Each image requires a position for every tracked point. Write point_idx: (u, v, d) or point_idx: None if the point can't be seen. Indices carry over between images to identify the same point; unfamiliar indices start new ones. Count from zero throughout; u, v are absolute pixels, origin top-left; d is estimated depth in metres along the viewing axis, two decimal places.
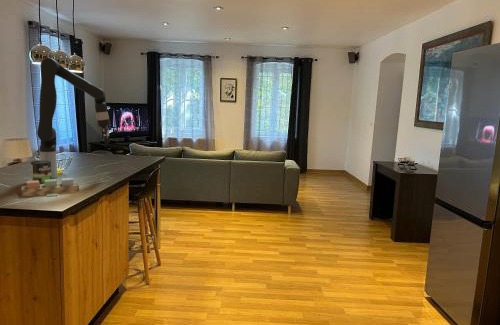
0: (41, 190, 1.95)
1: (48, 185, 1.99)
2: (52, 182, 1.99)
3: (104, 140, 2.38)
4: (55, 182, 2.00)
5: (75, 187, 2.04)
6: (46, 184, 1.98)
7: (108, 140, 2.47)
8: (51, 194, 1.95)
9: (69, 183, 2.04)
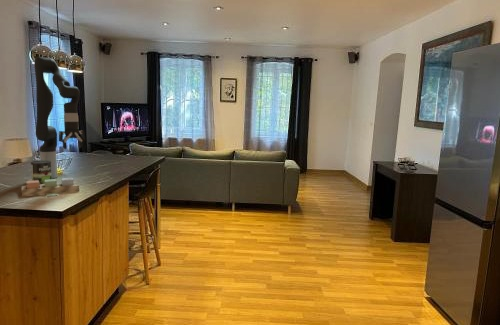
0: (41, 190, 1.95)
1: (48, 185, 1.99)
2: (52, 182, 1.99)
3: None
4: (55, 182, 2.00)
5: (75, 187, 2.04)
6: (46, 184, 1.98)
7: (79, 145, 2.19)
8: (51, 194, 1.95)
9: (69, 183, 2.04)
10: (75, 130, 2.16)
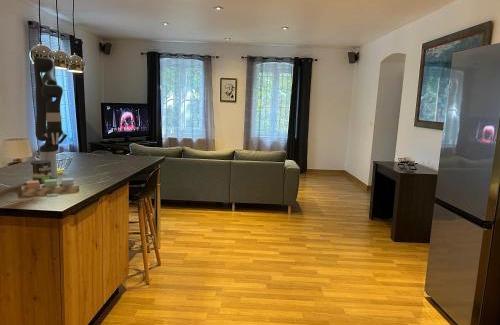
0: (41, 190, 1.95)
1: (48, 185, 1.99)
2: (52, 182, 1.99)
3: None
4: (55, 182, 2.00)
5: (75, 187, 2.04)
6: (46, 184, 1.98)
7: None
8: (51, 194, 1.95)
9: (69, 183, 2.04)
10: (57, 130, 2.09)
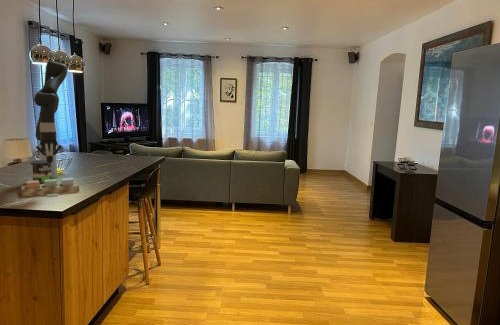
0: (41, 190, 1.95)
1: (48, 185, 1.99)
2: (52, 182, 1.99)
3: None
4: (55, 182, 2.00)
5: (75, 187, 2.04)
6: (46, 184, 1.98)
7: None
8: (51, 194, 1.95)
9: (69, 183, 2.04)
10: (52, 141, 1.98)
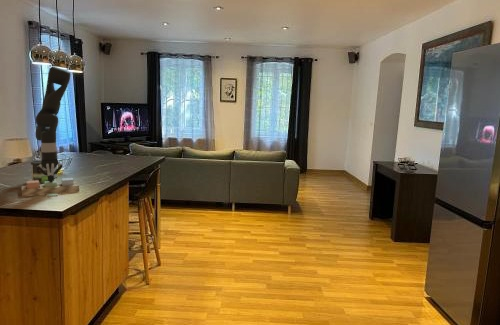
0: (41, 190, 1.95)
1: (48, 186, 1.99)
2: (52, 184, 2.00)
3: None
4: (55, 184, 2.00)
5: (75, 187, 2.04)
6: (46, 186, 1.98)
7: None
8: (51, 194, 1.95)
9: (69, 183, 2.04)
10: (53, 161, 1.99)
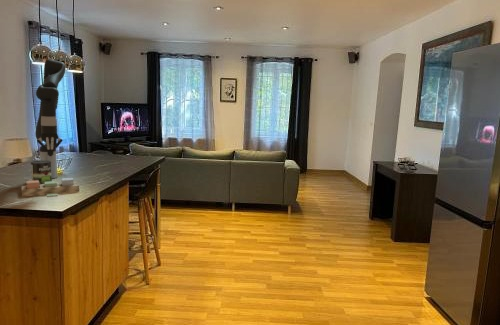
0: (41, 190, 1.95)
1: None
2: (52, 184, 2.00)
3: None
4: (55, 184, 2.00)
5: (75, 187, 2.04)
6: (46, 186, 1.98)
7: (50, 153, 2.01)
8: (51, 194, 1.95)
9: (69, 183, 2.04)
10: (53, 135, 2.00)
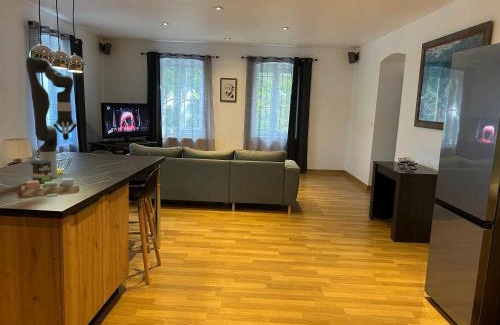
0: (41, 190, 1.95)
1: None
2: (52, 184, 2.00)
3: None
4: (55, 184, 2.00)
5: (75, 187, 2.04)
6: (46, 186, 1.98)
7: None
8: (51, 194, 1.95)
9: (69, 183, 2.04)
10: (68, 120, 2.14)
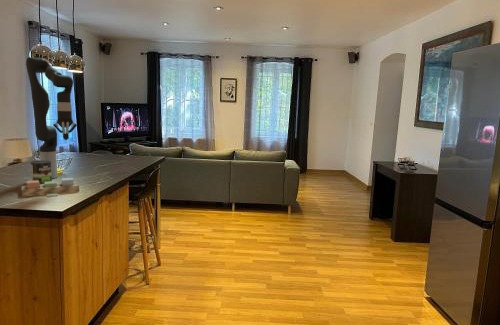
0: (41, 190, 1.95)
1: None
2: (52, 184, 2.00)
3: None
4: (55, 184, 2.00)
5: (75, 187, 2.04)
6: (46, 186, 1.98)
7: None
8: (51, 194, 1.95)
9: (69, 183, 2.04)
10: (68, 120, 2.14)
